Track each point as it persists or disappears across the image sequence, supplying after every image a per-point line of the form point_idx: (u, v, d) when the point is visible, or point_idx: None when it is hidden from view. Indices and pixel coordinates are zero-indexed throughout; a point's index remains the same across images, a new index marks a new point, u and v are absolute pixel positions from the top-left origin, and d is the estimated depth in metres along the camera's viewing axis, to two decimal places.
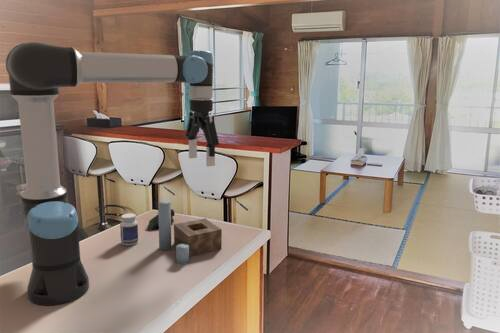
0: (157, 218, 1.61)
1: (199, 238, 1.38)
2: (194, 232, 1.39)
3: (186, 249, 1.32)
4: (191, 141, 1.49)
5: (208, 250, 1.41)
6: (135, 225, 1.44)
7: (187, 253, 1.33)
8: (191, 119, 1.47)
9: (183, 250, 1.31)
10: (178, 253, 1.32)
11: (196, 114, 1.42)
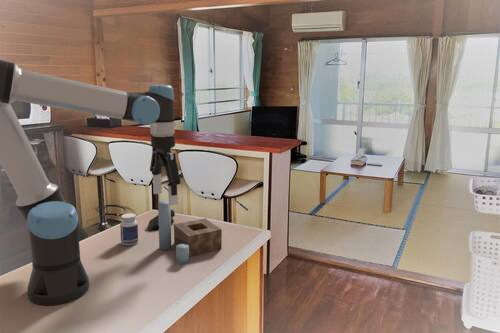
0: (157, 219, 1.61)
1: (199, 238, 1.38)
2: (194, 232, 1.39)
3: (186, 249, 1.32)
4: (155, 176, 1.43)
5: (208, 250, 1.41)
6: (135, 225, 1.44)
7: (187, 253, 1.33)
8: (154, 154, 1.41)
9: (183, 250, 1.31)
10: (178, 253, 1.32)
11: (158, 150, 1.36)
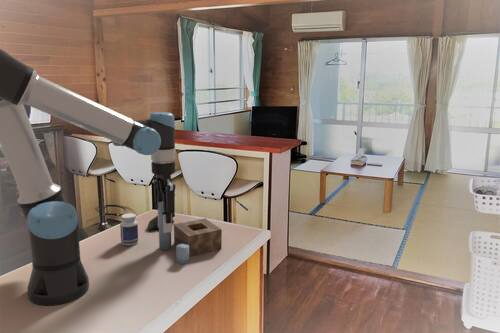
0: (157, 219, 1.60)
1: (199, 238, 1.38)
2: (194, 232, 1.39)
3: (186, 249, 1.32)
4: None
5: (208, 250, 1.41)
6: (135, 225, 1.44)
7: (187, 253, 1.33)
8: (156, 183, 1.42)
9: (183, 250, 1.31)
10: (178, 253, 1.32)
11: None
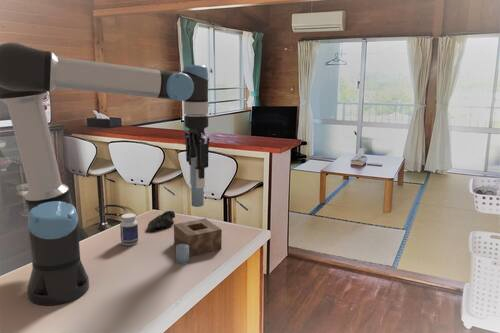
0: (156, 220, 1.59)
1: (199, 238, 1.38)
2: (194, 232, 1.39)
3: (186, 249, 1.32)
4: None
5: (208, 250, 1.41)
6: (135, 225, 1.44)
7: (187, 253, 1.32)
8: (188, 139, 1.41)
9: (183, 250, 1.31)
10: (178, 253, 1.32)
11: (190, 128, 1.37)
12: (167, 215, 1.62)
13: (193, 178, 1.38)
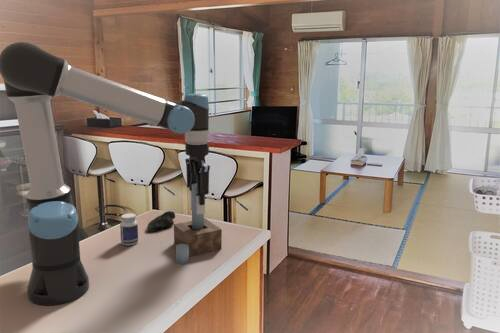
0: (156, 220, 1.59)
1: (199, 238, 1.38)
2: (194, 232, 1.39)
3: (186, 249, 1.32)
4: None
5: (208, 250, 1.41)
6: (135, 225, 1.44)
7: (187, 253, 1.32)
8: (188, 165, 1.43)
9: (183, 250, 1.31)
10: (178, 253, 1.32)
11: None
12: (167, 215, 1.62)
13: (194, 204, 1.40)
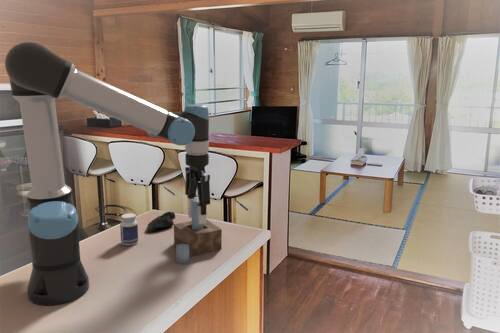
0: (156, 221, 1.59)
1: (199, 238, 1.38)
2: (194, 232, 1.39)
3: (186, 249, 1.32)
4: (191, 200, 1.44)
5: (208, 250, 1.41)
6: (135, 225, 1.44)
7: (187, 253, 1.32)
8: (188, 174, 1.44)
9: (183, 250, 1.31)
10: (178, 253, 1.32)
11: None
12: (167, 216, 1.62)
13: (193, 221, 1.42)
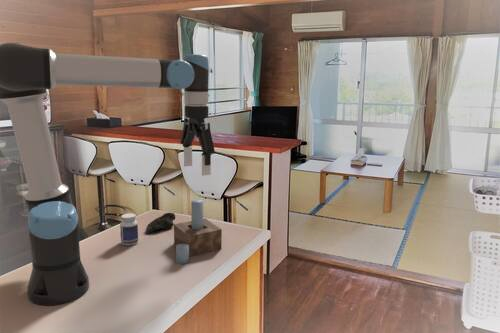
0: (156, 221, 1.58)
1: (199, 238, 1.38)
2: (194, 232, 1.39)
3: (186, 248, 1.32)
4: (186, 148, 1.43)
5: (208, 250, 1.41)
6: (135, 225, 1.44)
7: (186, 253, 1.32)
8: (186, 126, 1.41)
9: (182, 250, 1.31)
10: (178, 253, 1.32)
11: (191, 121, 1.36)
12: (167, 217, 1.61)
13: (193, 221, 1.42)
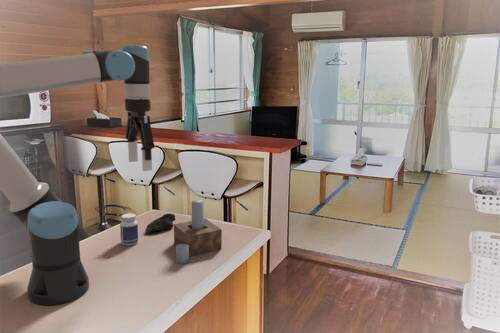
0: (155, 222, 1.57)
1: (199, 238, 1.38)
2: (194, 232, 1.39)
3: (185, 249, 1.32)
4: (130, 143, 1.38)
5: (208, 250, 1.41)
6: (135, 225, 1.44)
7: (186, 253, 1.32)
8: (129, 120, 1.36)
9: (182, 250, 1.31)
10: (177, 253, 1.32)
11: (133, 114, 1.32)
12: (167, 217, 1.60)
13: (193, 221, 1.42)
